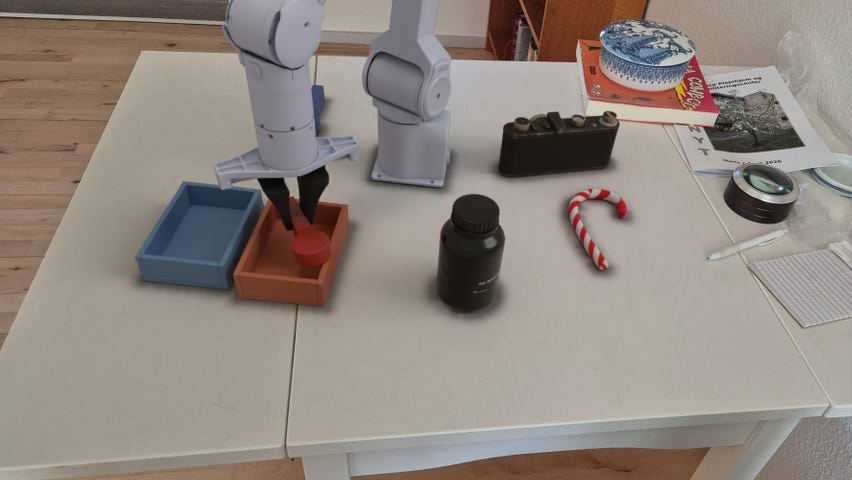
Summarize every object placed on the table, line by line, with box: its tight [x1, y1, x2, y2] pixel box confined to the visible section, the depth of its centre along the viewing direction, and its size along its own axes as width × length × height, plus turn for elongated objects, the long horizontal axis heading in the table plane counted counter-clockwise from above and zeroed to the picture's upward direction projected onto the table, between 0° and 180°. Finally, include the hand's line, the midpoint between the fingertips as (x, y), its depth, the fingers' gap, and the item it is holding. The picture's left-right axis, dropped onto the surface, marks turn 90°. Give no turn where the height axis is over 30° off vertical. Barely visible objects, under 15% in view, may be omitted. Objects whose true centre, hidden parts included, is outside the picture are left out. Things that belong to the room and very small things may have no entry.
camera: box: [497, 110, 621, 179], centre depth 92 cm, size 16×7×8 cm, turn 106°
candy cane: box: [568, 188, 628, 271], centre depth 84 cm, size 8×1×15 cm
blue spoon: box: [311, 84, 326, 136], centre depth 96 cm, size 10×4×3 cm, turn 176°
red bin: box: [233, 198, 350, 308], centre depth 75 cm, size 9×13×4 cm
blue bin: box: [134, 180, 265, 290], centre depth 75 cm, size 9×13×4 cm
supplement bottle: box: [435, 193, 506, 312], centre depth 71 cm, size 7×7×12 cm
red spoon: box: [289, 195, 332, 267], centre depth 73 cm, size 10×4×3 cm, turn 28°
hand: (297, 222), depth 74 cm, fingers closed on red spoon, 2 cm apart
